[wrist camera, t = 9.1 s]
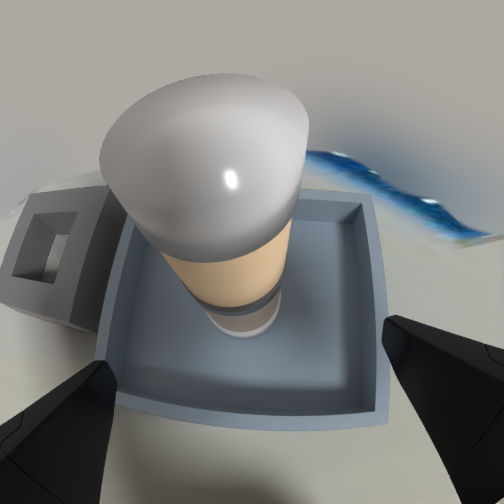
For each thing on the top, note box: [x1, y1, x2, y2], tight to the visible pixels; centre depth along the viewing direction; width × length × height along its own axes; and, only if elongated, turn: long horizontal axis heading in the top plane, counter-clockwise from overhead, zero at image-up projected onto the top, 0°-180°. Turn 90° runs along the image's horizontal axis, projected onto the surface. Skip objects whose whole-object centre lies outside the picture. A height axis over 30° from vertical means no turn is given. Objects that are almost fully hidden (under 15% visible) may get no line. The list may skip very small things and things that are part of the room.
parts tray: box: [94, 189, 390, 431], centre depth 16 cm, size 16×14×3 cm
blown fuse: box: [99, 74, 309, 340], centre depth 11 cm, size 4×4×13 cm
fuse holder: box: [0, 186, 128, 334], centre depth 17 cm, size 10×10×4 cm
